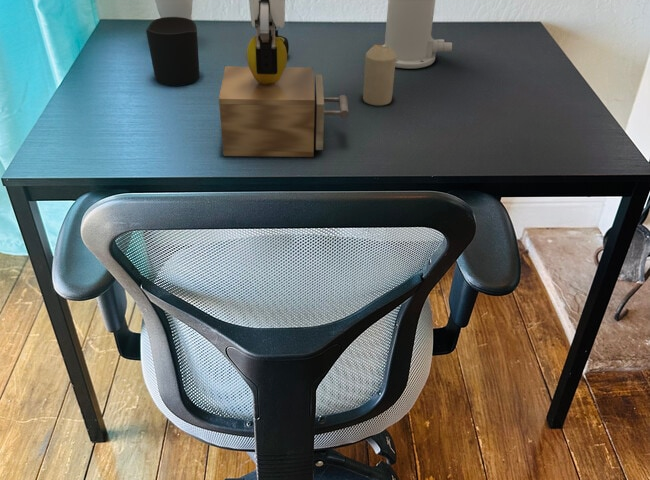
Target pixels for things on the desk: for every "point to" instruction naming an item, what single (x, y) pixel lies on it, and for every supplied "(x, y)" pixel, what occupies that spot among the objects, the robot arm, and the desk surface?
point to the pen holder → (174, 50)
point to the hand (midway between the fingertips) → (267, 63)
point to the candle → (379, 75)
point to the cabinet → (267, 113)
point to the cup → (175, 8)
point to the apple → (280, 61)
